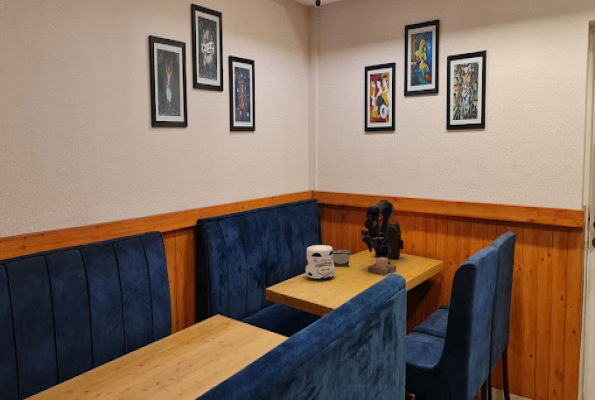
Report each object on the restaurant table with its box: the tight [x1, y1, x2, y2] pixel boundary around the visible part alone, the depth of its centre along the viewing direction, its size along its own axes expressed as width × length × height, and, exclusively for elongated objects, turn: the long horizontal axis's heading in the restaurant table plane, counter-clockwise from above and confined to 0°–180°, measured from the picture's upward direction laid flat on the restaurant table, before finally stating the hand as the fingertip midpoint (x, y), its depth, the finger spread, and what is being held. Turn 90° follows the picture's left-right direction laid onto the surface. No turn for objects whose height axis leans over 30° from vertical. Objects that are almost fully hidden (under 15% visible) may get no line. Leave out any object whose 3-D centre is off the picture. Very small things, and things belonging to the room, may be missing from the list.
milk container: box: [305, 244, 336, 281], centre depth 276 cm, size 17×17×18 cm
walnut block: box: [367, 263, 397, 276], centre depth 285 cm, size 12×12×4 cm
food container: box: [333, 249, 352, 268], centre depth 301 cm, size 12×6×10 cm, turn 84°
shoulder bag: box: [370, 216, 407, 262], centre depth 317 cm, size 23×9×28 cm, turn 52°
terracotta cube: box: [375, 257, 389, 268], centre depth 283 cm, size 5×5×5 cm
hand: (375, 250), depth 289 cm, fingers open, 9 cm apart
